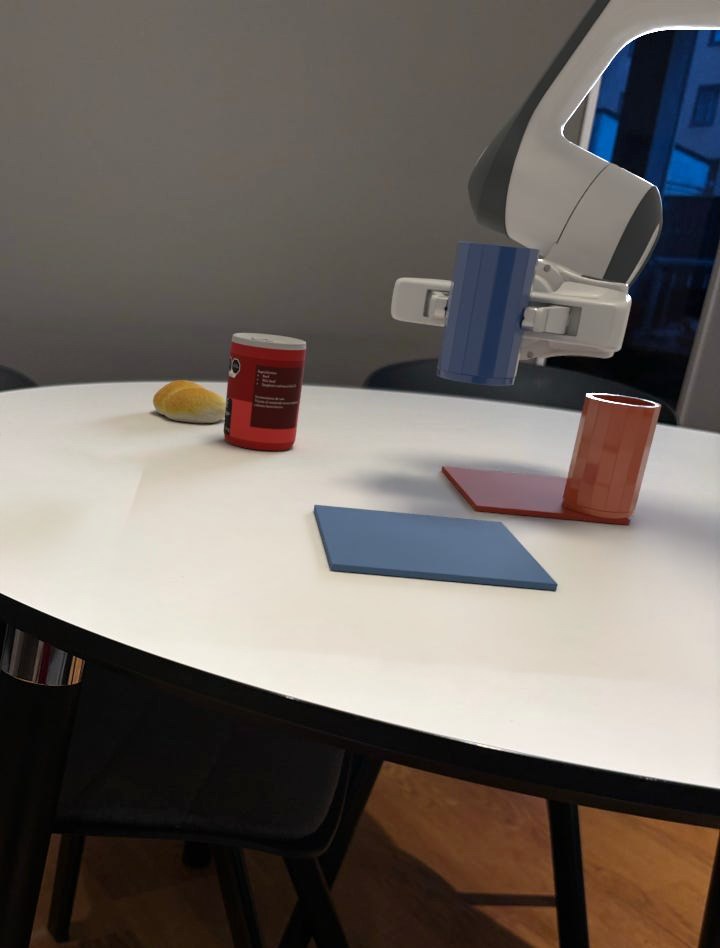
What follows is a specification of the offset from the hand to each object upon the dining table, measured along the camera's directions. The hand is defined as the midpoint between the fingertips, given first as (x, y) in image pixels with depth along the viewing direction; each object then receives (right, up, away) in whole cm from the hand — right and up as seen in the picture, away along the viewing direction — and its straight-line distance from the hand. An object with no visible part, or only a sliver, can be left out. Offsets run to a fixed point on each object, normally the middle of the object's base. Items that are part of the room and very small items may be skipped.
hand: (484, 313), depth 82 cm
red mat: (+8, -12, +16) cm, 22 cm away
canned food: (-18, -5, +27) cm, 33 cm away
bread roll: (-26, 0, +38) cm, 46 cm away
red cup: (+13, -14, +12) cm, 23 cm away
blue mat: (-6, -19, -4) cm, 20 cm away
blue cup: (0, -5, +3) cm, 5 cm away
